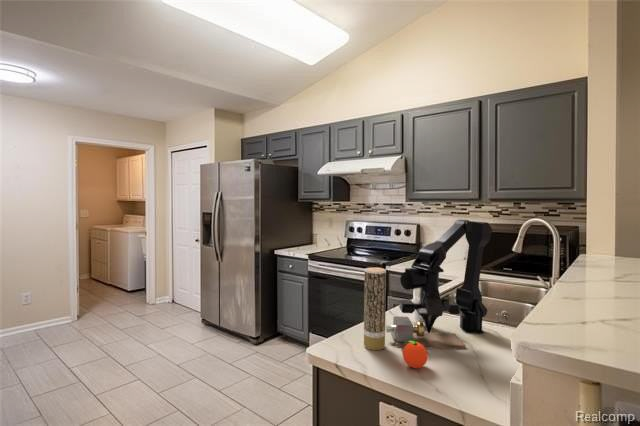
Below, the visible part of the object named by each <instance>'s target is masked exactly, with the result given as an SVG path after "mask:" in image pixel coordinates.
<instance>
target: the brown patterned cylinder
mask: <svg viewBox="0 0 640 426" xmlns="http://www.w3.org/2000/svg"><path fill="white" fill-rule="evenodd" d="M363 281H364V283H363V284H364V285H363V286H364V287H363V290H364V293H363V296H364V297H363V302H364V303H363V346H364V347H365V348H366V349H369V350H371V351H380V350H383V349H384V348H385V347H386V346H385V345H386V307H387V306H386V305H387V296H386V295H387V269H385V268H383V267H366V268H364V280H363Z"/></svg>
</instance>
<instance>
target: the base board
mask: <svg viewBox="0 0 640 426" xmlns="http://www.w3.org/2000/svg"><path fill="white" fill-rule="evenodd" d="M390 335H391V337H392V340H393V342H394V344H395V347H396V348H404V347H405V346H406V345H407V344H408V343H397V341H396V339H395V336H394V334H393V332H390ZM413 341H414V342H418V343H420V344H422V345H423V346H424V347H425V349H429V348H432V349H433V348H434V349H462V350H463V349H464V350H465V349H466V348H467V345H466V344H465V343H464V342H463V341H462V339H461V338H460V337H459V336H458V335H457V333H455V332H452V333H451V332H430V333H428V332H425V331H424V337H417V336H416V333H413ZM404 344H405V345H404Z"/></svg>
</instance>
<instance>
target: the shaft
mask: <svg viewBox="0 0 640 426" xmlns="http://www.w3.org/2000/svg"><path fill="white" fill-rule="evenodd" d="M391 332H393V333H396V325H393V324H385V333H391ZM424 332H425V329H424V324H423V322H416V323H415V325H414V324H413V333H416V336H417V337H424Z"/></svg>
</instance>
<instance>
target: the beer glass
mask: <svg viewBox="0 0 640 426" xmlns="http://www.w3.org/2000/svg"><path fill="white" fill-rule="evenodd" d="M420 291H421V290H420V288H417V289H413V291H412V292H413V293H412V294H413V295H412V296H413V297H412V302H413V303H414V304H420ZM416 322H423V324H424V321H423V318H422V316H420V315H419V314H418V312H417V311H416V309H415V311H414V322H413V325H415V323H416ZM424 330H426V327H425V324H424Z"/></svg>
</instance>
